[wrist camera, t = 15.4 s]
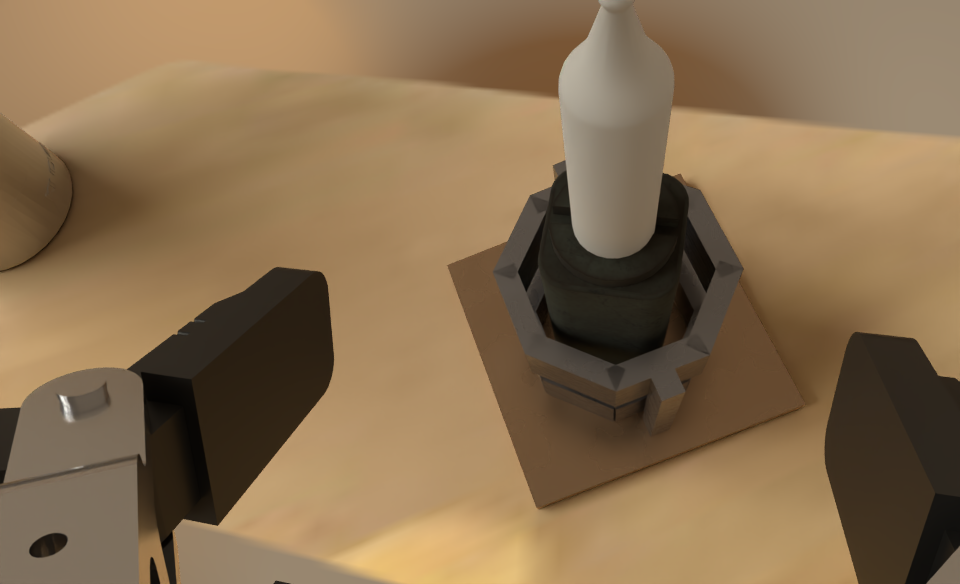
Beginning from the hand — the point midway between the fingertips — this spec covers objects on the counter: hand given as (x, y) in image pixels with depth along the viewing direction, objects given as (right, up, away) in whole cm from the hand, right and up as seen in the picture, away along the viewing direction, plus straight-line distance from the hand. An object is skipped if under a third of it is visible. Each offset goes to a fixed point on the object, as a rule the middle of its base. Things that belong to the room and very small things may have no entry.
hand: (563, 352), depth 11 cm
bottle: (+6, -1, +27) cm, 28 cm away
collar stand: (+6, -1, +28) cm, 29 cm away
